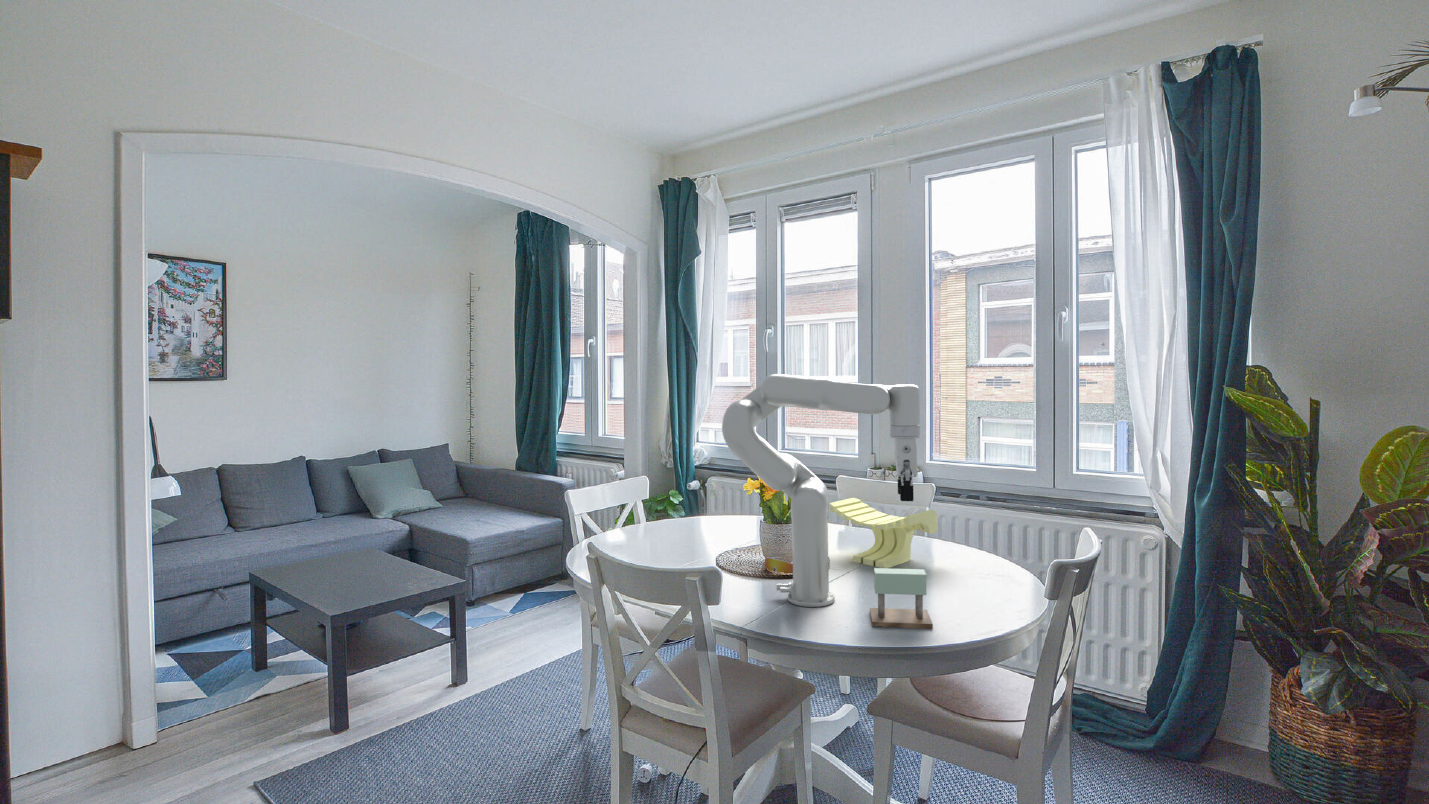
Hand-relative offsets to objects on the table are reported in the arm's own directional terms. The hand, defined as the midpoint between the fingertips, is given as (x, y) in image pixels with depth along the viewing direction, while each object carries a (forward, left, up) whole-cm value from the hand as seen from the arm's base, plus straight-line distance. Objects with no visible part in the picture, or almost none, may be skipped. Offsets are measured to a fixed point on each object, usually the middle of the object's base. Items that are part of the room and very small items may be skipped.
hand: (905, 497), depth 185 cm
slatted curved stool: (-3, +43, -28) cm, 52 cm away
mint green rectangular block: (-3, -12, -21) cm, 25 cm away
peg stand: (-3, -13, -28) cm, 31 cm away
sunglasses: (-32, +30, -29) cm, 52 cm away
